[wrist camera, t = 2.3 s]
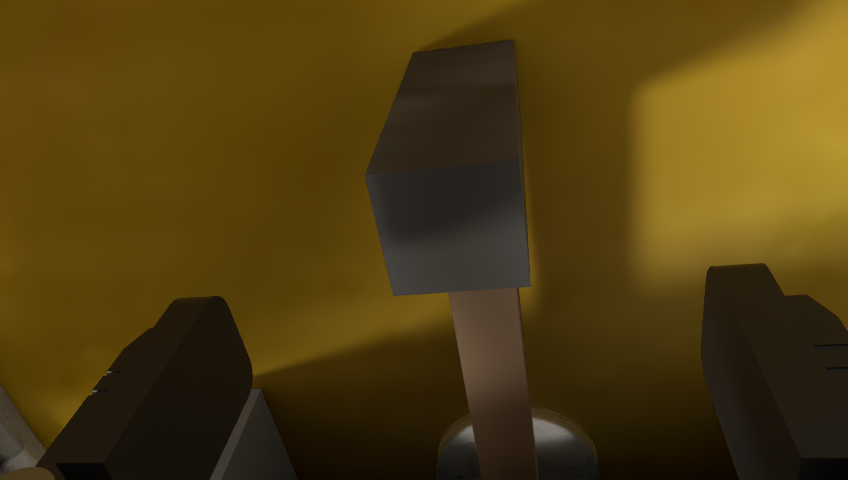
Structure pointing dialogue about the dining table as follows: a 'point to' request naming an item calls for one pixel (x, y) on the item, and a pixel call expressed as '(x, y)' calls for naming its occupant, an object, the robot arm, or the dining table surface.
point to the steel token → (554, 441)
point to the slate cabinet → (254, 446)
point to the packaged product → (16, 439)
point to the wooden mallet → (464, 229)
